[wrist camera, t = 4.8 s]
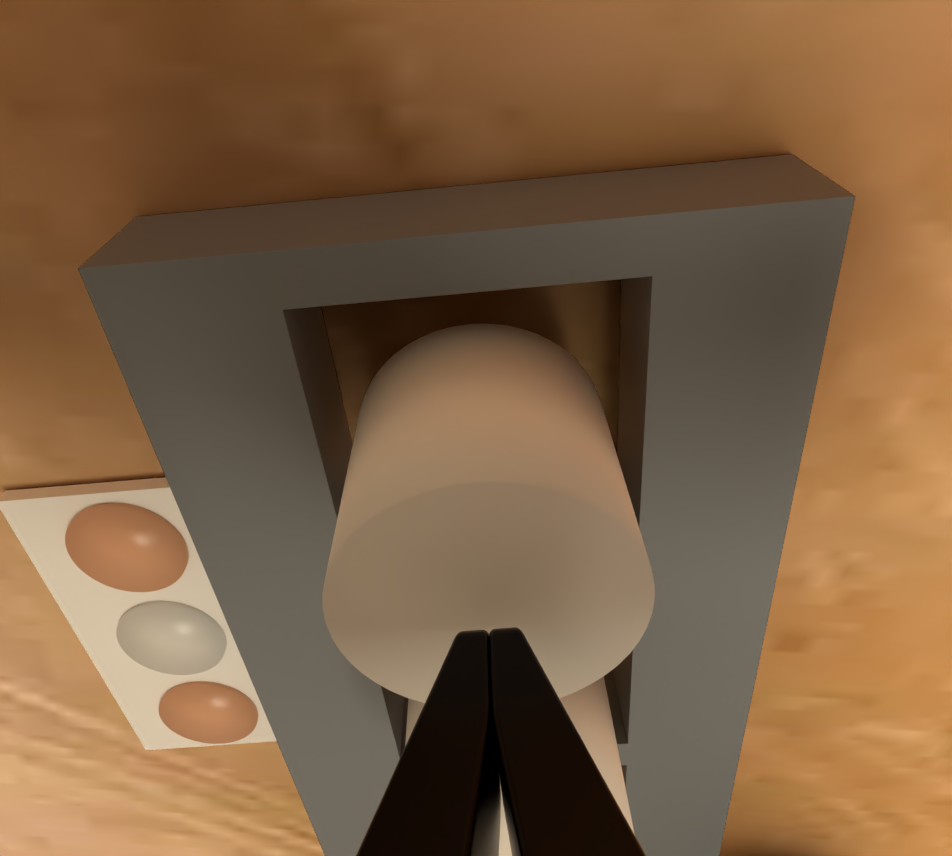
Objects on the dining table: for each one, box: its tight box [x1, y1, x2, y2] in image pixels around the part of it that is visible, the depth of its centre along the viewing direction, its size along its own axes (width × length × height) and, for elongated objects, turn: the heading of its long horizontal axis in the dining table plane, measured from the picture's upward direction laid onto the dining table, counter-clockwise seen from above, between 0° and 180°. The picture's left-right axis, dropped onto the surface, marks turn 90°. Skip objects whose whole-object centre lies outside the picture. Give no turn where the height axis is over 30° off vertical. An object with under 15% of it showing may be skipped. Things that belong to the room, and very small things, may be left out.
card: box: [0, 477, 277, 750], centre depth 19 cm, size 10×5×1 cm, turn 5°
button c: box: [322, 324, 655, 703], centre depth 12 cm, size 5×5×4 cm
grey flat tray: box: [78, 154, 855, 856], centre depth 18 cm, size 22×12×2 cm, turn 5°
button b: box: [405, 676, 635, 856], centre depth 16 cm, size 5×5×4 cm
